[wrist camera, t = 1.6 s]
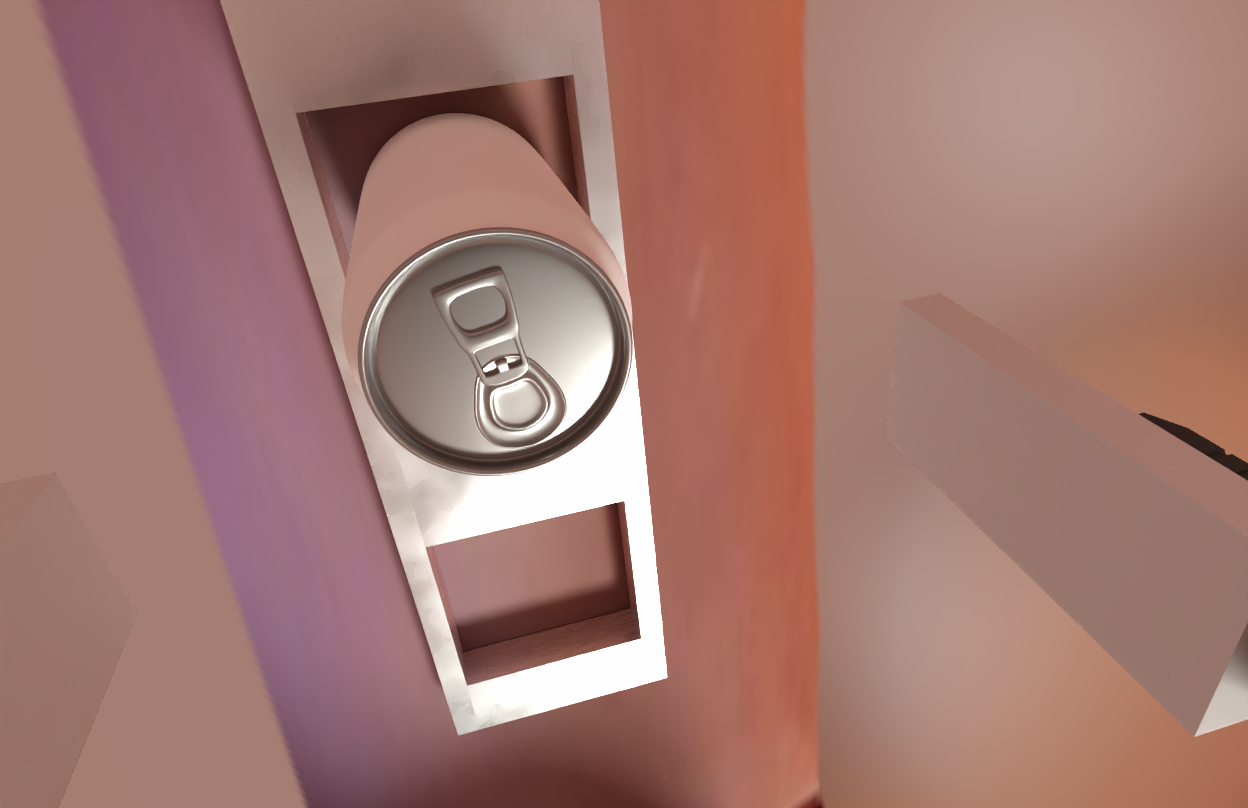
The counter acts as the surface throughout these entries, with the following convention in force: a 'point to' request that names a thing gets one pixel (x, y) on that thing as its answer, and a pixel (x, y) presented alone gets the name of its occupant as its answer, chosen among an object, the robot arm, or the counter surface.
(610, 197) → the holder
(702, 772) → the counter surface
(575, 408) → the can
